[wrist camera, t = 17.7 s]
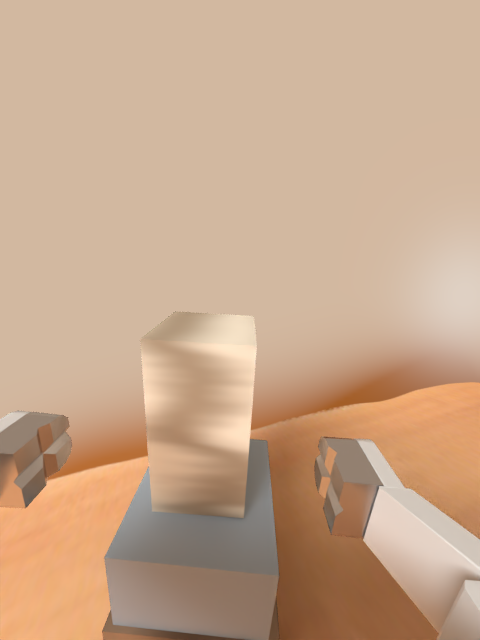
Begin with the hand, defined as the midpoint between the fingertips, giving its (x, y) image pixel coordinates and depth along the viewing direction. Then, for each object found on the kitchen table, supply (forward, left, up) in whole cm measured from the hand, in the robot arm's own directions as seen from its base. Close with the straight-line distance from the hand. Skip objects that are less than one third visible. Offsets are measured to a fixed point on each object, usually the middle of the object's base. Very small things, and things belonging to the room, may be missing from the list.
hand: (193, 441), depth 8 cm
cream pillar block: (-3, -5, -8) cm, 10 cm away
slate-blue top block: (-3, -4, -13) cm, 14 cm away
